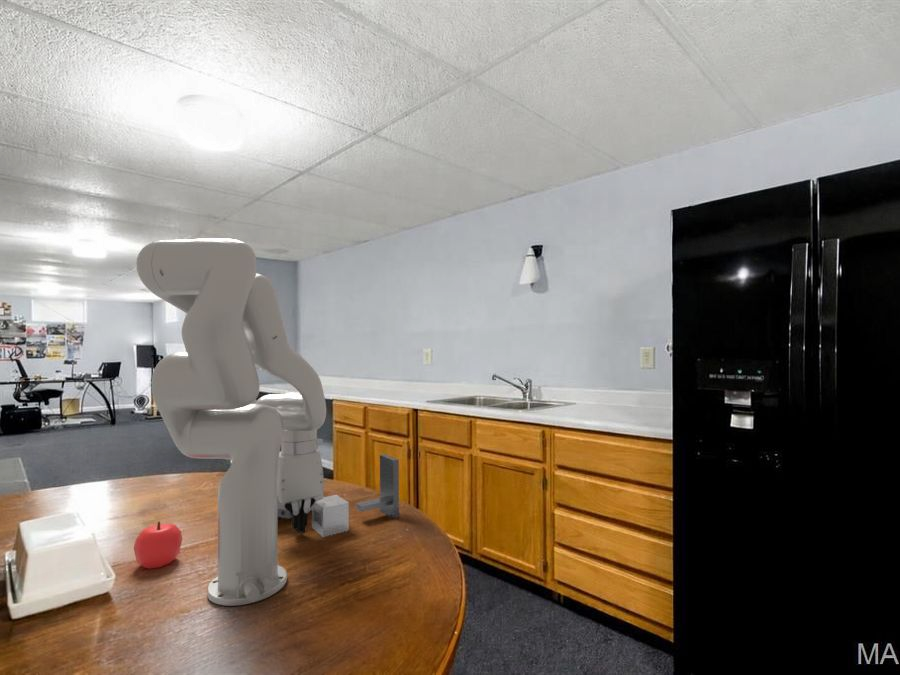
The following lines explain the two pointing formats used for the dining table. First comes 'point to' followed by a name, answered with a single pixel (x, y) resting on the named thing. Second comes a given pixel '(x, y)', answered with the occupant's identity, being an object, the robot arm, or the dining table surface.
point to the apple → (158, 545)
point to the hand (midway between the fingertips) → (299, 530)
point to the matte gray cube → (330, 515)
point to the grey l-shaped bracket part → (386, 489)
